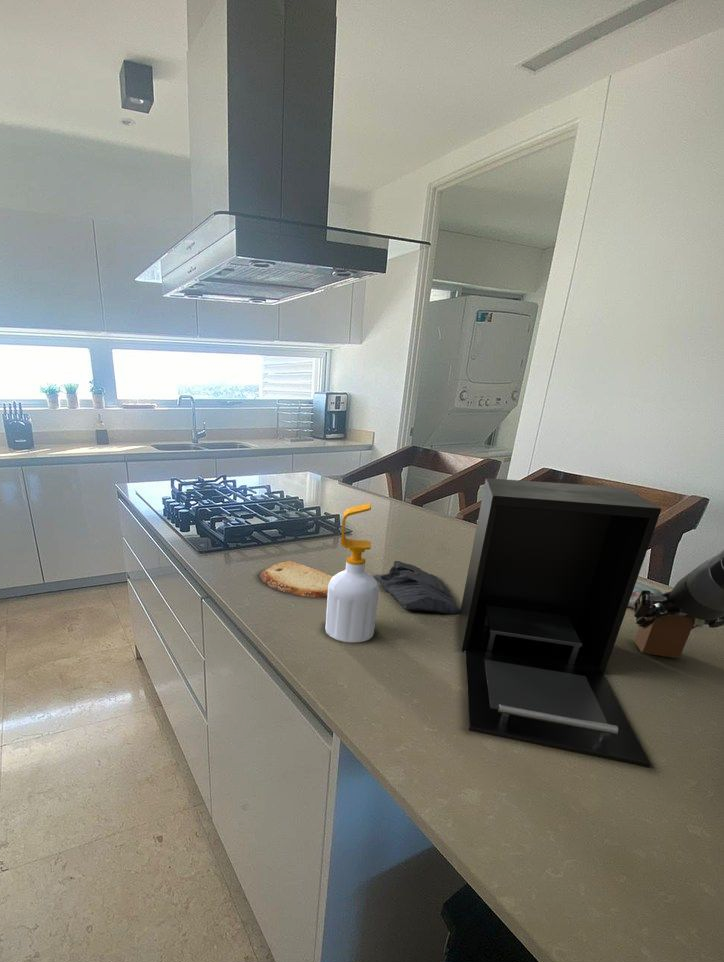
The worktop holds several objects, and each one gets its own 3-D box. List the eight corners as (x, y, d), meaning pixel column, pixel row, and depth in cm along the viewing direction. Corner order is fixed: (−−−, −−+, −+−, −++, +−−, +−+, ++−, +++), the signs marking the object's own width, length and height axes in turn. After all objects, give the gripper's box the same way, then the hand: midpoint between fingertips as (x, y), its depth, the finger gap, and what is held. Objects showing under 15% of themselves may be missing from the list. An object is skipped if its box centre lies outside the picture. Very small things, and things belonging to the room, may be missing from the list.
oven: (580, 634, 93) (625, 487, 82) (652, 772, 60) (746, 558, 48) (459, 616, 99) (486, 478, 88) (464, 733, 66) (508, 534, 55)
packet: (668, 646, 87) (685, 606, 84) (679, 658, 84) (696, 617, 80) (633, 641, 89) (648, 601, 86) (642, 653, 85) (657, 611, 82)
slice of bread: (349, 598, 107) (350, 582, 105) (268, 602, 104) (268, 586, 103) (328, 569, 123) (329, 555, 121) (258, 572, 120) (258, 558, 119)
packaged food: (645, 619, 100) (653, 597, 98) (588, 598, 109) (594, 577, 107) (667, 611, 103) (675, 590, 101) (610, 592, 113) (617, 572, 111)
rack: (562, 635, 90) (568, 616, 89) (575, 665, 81) (582, 644, 79) (482, 623, 94) (486, 605, 93) (485, 650, 85) (490, 630, 83)
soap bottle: (373, 647, 87) (389, 512, 77) (323, 642, 89) (332, 509, 79) (373, 625, 95) (387, 500, 85) (327, 620, 97) (335, 497, 87)
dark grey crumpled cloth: (393, 616, 99) (395, 595, 97) (372, 577, 119) (374, 558, 117) (467, 617, 99) (472, 596, 97) (434, 577, 119) (438, 559, 117)
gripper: (777, 569, 70) (707, 611, 85) (661, 557, 74) (613, 599, 89) (782, 617, 68) (709, 651, 83) (662, 602, 72) (613, 637, 87)
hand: (660, 624), depth 86 cm, fingers closed on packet, 5 cm apart
